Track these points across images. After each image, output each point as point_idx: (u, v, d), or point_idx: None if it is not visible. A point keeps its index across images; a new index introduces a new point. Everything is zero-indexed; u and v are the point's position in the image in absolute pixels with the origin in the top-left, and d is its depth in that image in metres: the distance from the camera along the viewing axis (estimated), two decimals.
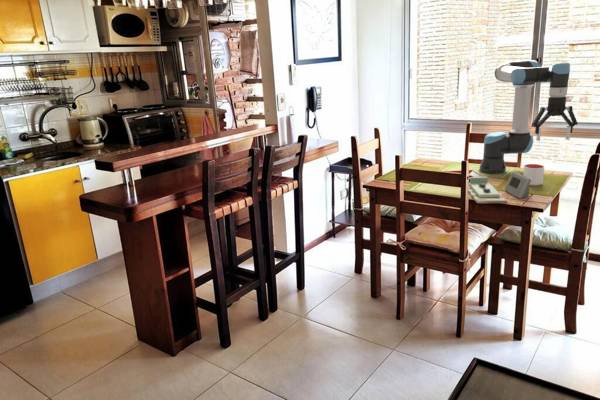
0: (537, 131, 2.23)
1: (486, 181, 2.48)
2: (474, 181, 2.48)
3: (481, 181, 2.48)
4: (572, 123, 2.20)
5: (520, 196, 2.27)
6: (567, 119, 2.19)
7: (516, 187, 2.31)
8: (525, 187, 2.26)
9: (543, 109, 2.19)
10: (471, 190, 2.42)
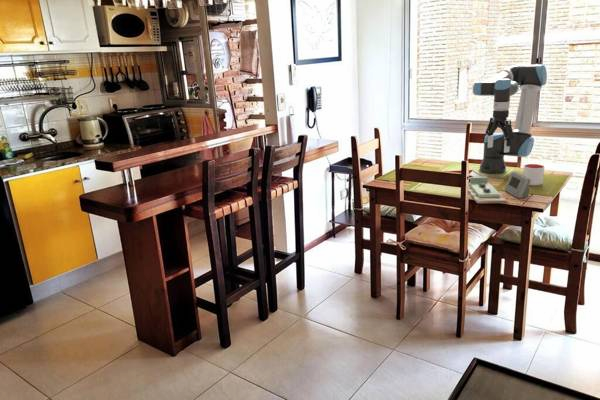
0: (488, 138, 2.48)
1: (486, 181, 2.48)
2: (474, 181, 2.48)
3: (481, 181, 2.48)
4: (506, 137, 2.33)
5: (520, 196, 2.27)
6: (504, 132, 2.34)
7: (516, 187, 2.32)
8: (525, 187, 2.26)
9: (490, 119, 2.43)
10: (471, 190, 2.42)
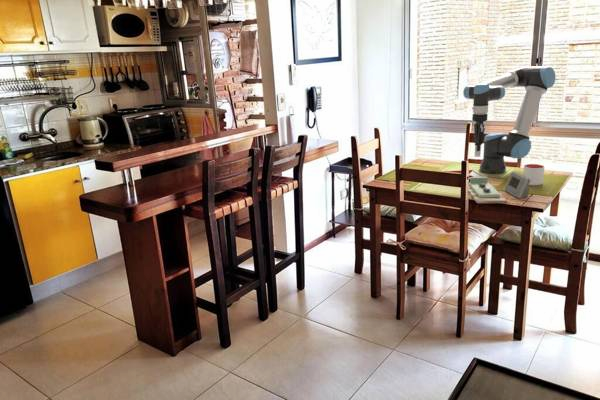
0: None
1: (486, 181, 2.48)
2: (474, 181, 2.48)
3: (481, 181, 2.48)
4: (476, 143, 2.46)
5: (519, 196, 2.27)
6: (476, 137, 2.46)
7: (515, 187, 2.32)
8: (524, 187, 2.26)
9: (474, 126, 2.51)
10: (471, 190, 2.42)
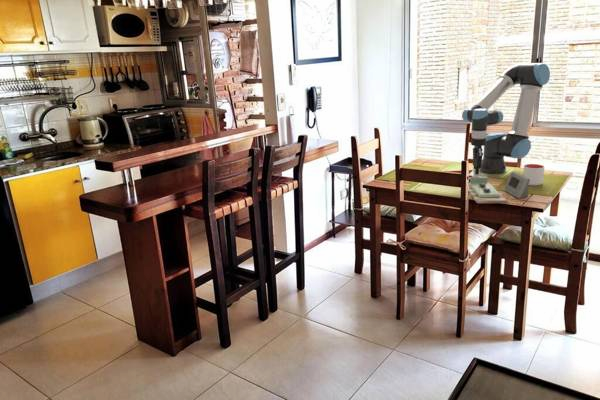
0: None
1: (486, 181, 2.48)
2: (474, 181, 2.48)
3: (481, 181, 2.48)
4: (475, 166, 2.50)
5: (519, 196, 2.27)
6: (475, 160, 2.50)
7: (515, 187, 2.32)
8: (524, 187, 2.26)
9: None
10: (471, 190, 2.42)
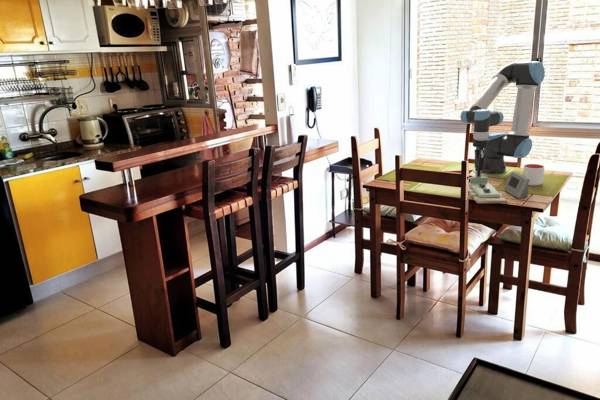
0: None
1: (486, 181, 2.47)
2: (474, 181, 2.48)
3: (481, 181, 2.48)
4: (477, 168, 2.46)
5: (518, 196, 2.28)
6: (477, 162, 2.46)
7: (515, 187, 2.32)
8: (523, 187, 2.26)
9: None
10: (471, 190, 2.42)
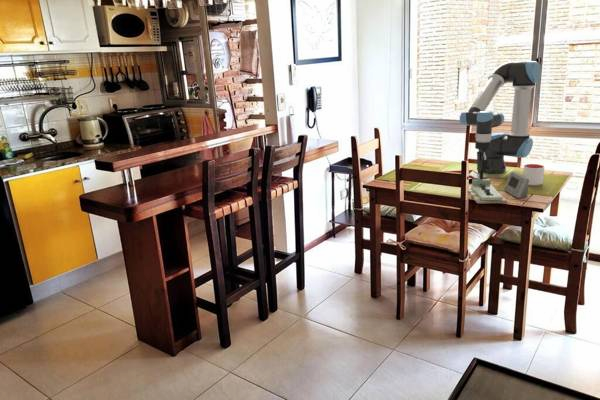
0: None
1: (489, 184, 2.43)
2: (476, 184, 2.44)
3: None
4: (479, 171, 2.41)
5: (518, 196, 2.28)
6: (479, 165, 2.41)
7: (514, 187, 2.32)
8: (523, 187, 2.26)
9: (477, 153, 2.46)
10: (471, 190, 2.42)
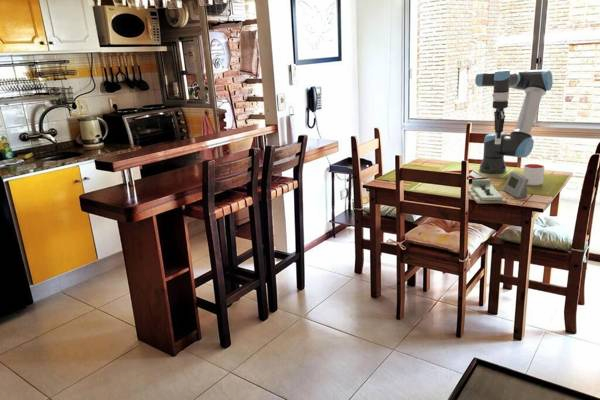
0: None
1: (489, 184, 2.43)
2: (476, 184, 2.44)
3: None
4: (497, 130, 2.44)
5: (517, 196, 2.28)
6: (497, 124, 2.44)
7: (514, 187, 2.32)
8: (522, 187, 2.26)
9: (494, 113, 2.48)
10: (471, 190, 2.42)
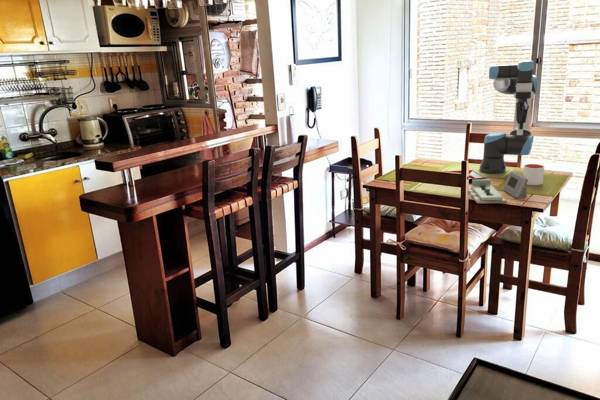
0: None
1: (489, 184, 2.43)
2: (476, 184, 2.44)
3: None
4: (519, 121, 2.46)
5: (517, 196, 2.28)
6: (519, 115, 2.45)
7: (514, 187, 2.32)
8: (522, 187, 2.26)
9: (516, 104, 2.50)
10: (471, 190, 2.42)
